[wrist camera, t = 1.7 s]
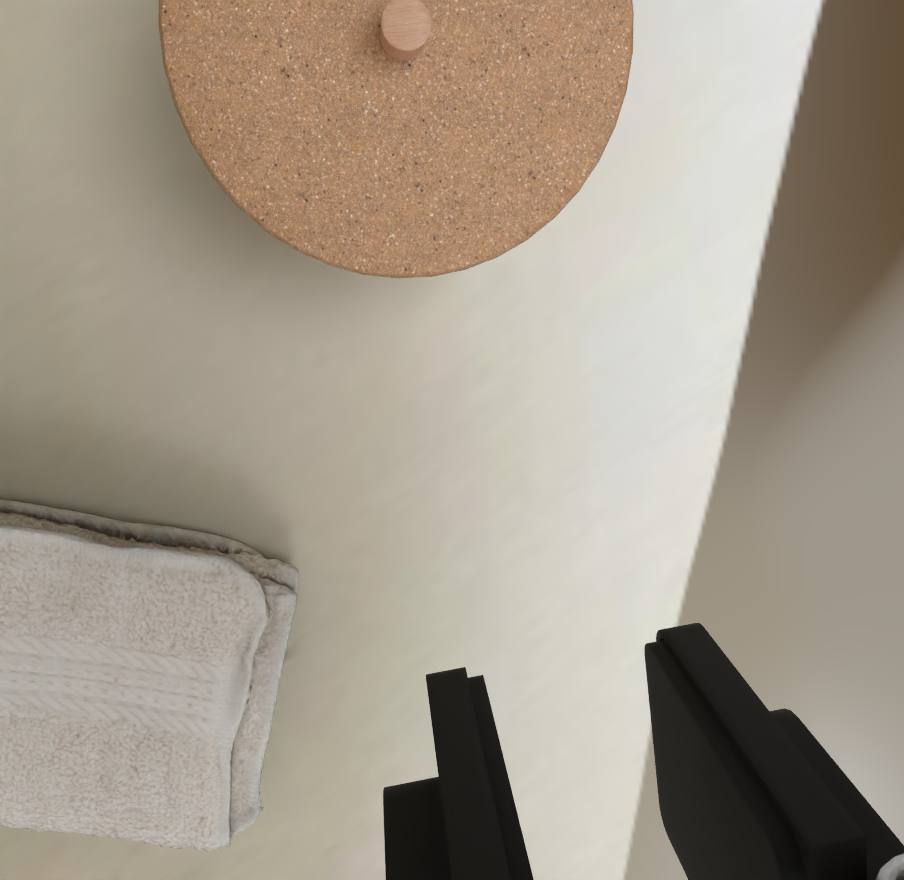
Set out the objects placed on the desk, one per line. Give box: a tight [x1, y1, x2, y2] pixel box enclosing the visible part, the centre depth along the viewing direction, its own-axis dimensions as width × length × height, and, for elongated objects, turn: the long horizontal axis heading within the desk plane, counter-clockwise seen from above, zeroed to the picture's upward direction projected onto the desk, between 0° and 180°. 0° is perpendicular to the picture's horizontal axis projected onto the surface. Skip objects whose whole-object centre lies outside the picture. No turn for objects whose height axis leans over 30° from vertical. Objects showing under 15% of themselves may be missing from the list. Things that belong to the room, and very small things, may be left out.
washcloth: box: [0, 499, 298, 852], centre depth 29 cm, size 12×18×3 cm, turn 78°
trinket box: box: [159, 0, 633, 278], centre depth 22 cm, size 11×11×9 cm
